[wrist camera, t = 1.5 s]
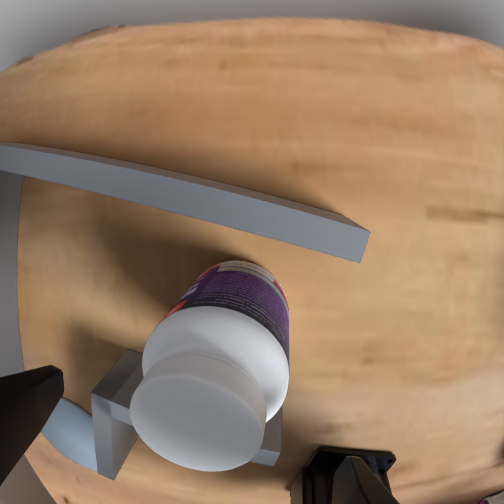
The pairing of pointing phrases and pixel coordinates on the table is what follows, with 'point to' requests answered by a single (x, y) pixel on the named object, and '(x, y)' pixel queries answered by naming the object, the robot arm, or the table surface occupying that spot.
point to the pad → (72, 433)
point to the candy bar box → (494, 499)
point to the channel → (166, 198)
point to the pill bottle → (215, 369)
